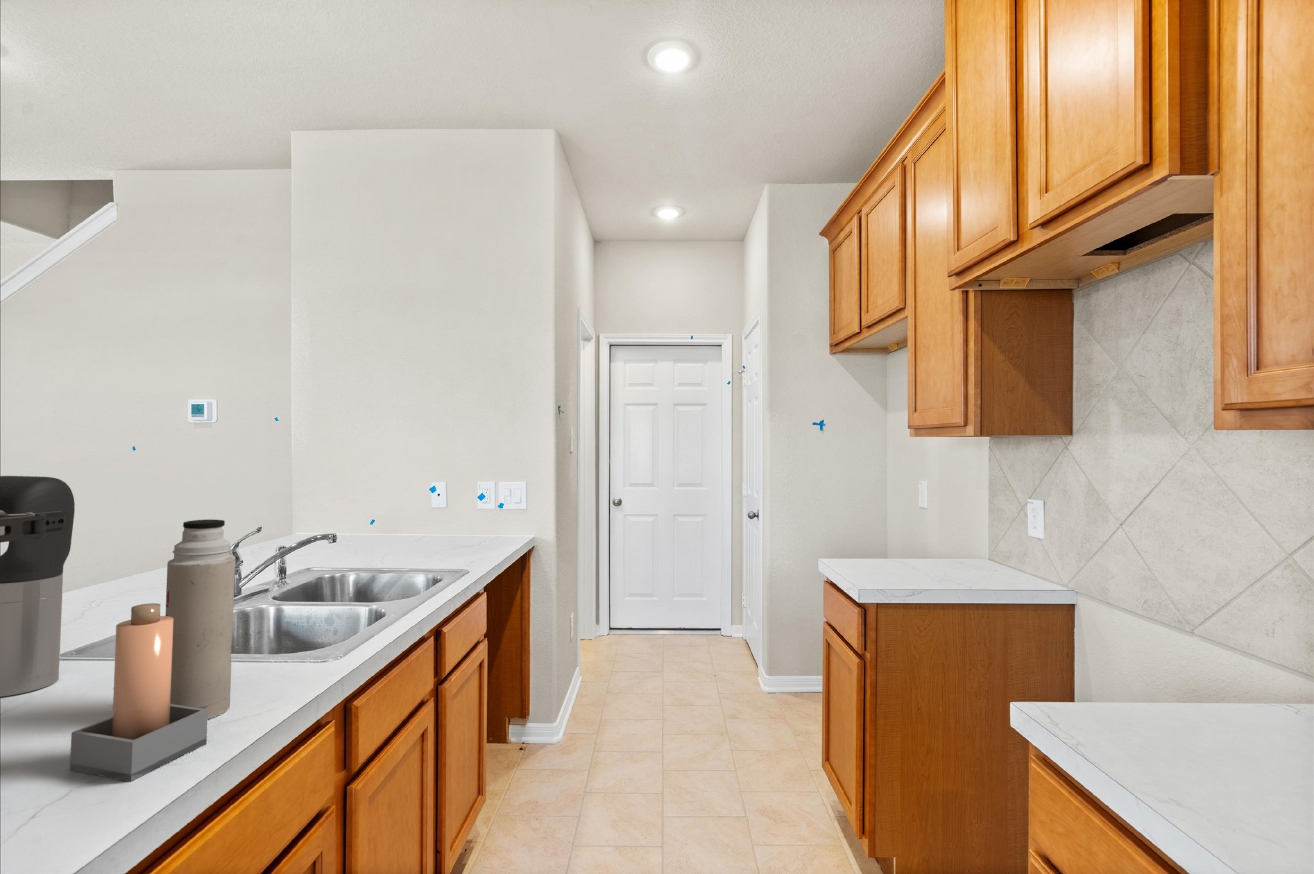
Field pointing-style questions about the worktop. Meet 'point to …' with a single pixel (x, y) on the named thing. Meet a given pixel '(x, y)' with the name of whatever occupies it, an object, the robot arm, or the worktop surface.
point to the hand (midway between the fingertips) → (30, 518)
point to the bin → (137, 745)
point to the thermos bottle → (201, 617)
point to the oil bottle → (142, 672)
